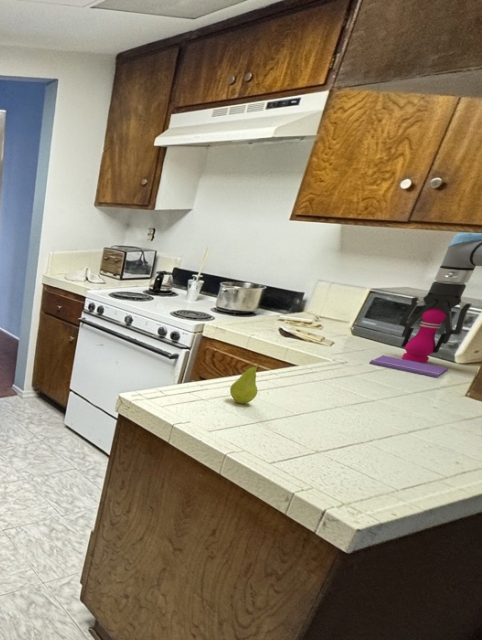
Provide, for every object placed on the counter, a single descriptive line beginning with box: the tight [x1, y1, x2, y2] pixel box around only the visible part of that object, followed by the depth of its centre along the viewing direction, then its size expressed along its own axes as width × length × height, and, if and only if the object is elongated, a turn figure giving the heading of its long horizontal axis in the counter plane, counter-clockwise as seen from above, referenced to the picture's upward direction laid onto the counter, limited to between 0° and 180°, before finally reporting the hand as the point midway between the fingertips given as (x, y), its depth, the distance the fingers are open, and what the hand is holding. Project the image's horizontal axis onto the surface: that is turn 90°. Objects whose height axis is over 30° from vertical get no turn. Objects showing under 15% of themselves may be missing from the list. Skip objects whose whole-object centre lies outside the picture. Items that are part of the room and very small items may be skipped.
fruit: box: [229, 361, 264, 405], centre depth 123 cm, size 6×6×12 cm
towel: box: [368, 354, 449, 379], centre depth 156 cm, size 16×14×1 cm
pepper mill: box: [401, 309, 446, 364], centre depth 160 cm, size 7×7×20 cm
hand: (419, 349), depth 162 cm, fingers closed on pepper mill, 7 cm apart
